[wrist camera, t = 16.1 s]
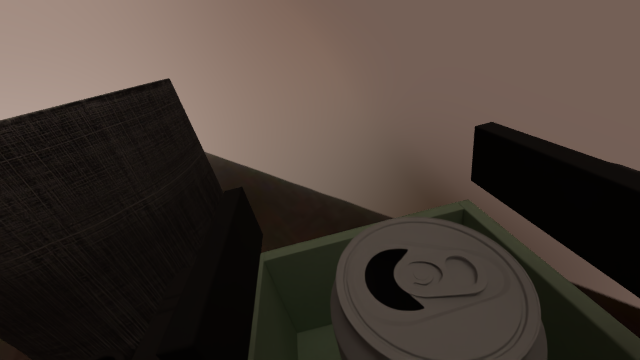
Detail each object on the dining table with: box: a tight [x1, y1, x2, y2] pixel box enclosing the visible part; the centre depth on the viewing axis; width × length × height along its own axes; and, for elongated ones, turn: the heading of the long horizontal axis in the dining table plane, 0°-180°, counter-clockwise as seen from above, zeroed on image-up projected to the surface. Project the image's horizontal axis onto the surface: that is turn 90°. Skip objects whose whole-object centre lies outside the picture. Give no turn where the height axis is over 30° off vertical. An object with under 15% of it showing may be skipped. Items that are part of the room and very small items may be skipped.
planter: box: [0, 79, 224, 360], centre depth 26 cm, size 22×22×20 cm
